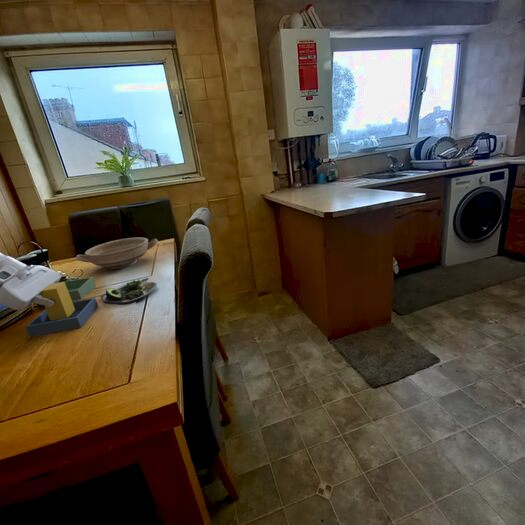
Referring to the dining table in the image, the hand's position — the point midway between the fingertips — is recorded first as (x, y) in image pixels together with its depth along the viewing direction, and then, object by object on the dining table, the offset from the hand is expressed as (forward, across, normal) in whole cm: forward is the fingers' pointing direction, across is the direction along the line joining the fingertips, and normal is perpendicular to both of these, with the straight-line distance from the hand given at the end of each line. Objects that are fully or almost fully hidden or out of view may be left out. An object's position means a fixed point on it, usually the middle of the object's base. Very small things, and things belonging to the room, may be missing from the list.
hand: (59, 299), depth 85 cm
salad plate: (+17, -14, +5) cm, 22 cm away
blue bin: (+6, 0, -6) cm, 8 cm away
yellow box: (+3, 0, -4) cm, 5 cm away
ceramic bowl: (+6, -56, -6) cm, 57 cm away
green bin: (-1, -24, -13) cm, 27 cm away
